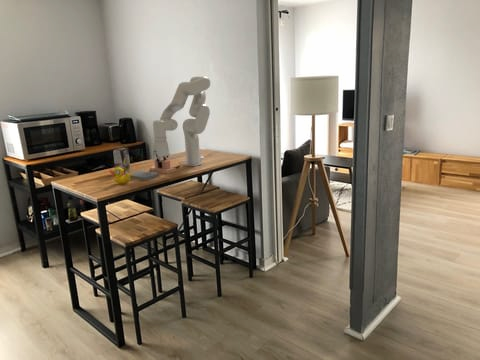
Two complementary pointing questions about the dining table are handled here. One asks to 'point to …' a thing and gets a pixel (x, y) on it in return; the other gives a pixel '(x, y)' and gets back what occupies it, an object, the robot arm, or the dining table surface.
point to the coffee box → (122, 159)
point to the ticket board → (143, 175)
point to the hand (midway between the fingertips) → (162, 166)
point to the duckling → (118, 177)
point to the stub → (163, 167)
